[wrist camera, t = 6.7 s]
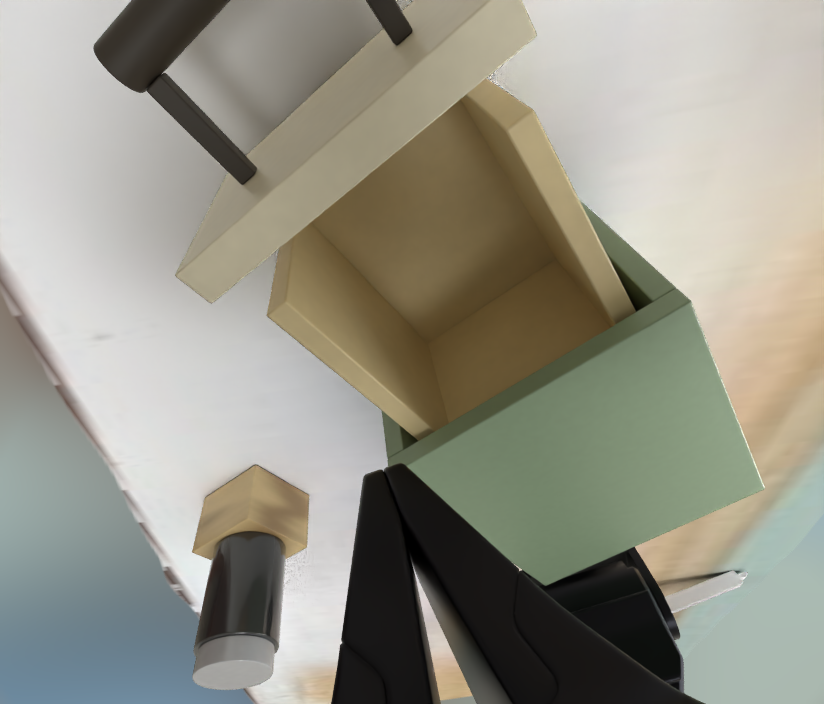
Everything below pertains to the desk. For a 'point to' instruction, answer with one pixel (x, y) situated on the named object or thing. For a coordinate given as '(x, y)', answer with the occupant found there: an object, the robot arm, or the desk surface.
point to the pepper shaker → (241, 612)
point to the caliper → (705, 591)
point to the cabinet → (595, 438)
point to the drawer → (396, 208)
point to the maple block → (254, 512)
